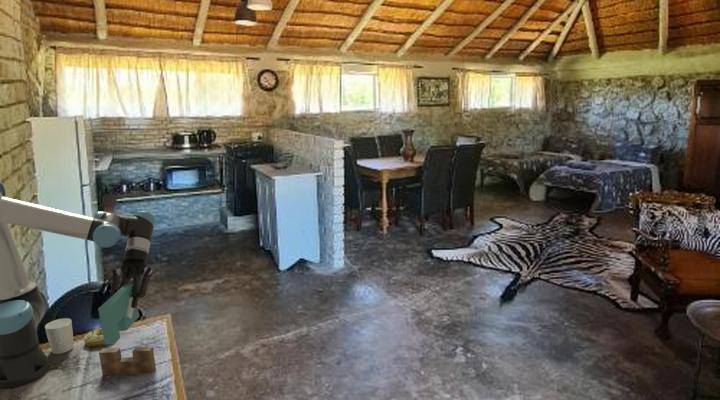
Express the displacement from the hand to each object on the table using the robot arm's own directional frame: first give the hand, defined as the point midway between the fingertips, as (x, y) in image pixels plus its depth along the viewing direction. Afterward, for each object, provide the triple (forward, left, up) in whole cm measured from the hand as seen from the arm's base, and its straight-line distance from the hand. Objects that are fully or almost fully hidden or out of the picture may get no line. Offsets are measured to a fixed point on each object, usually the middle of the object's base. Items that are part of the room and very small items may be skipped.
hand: (122, 317), depth 151 cm
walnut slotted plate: (+5, -1, -17) cm, 18 cm away
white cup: (-26, -17, -17) cm, 35 cm away
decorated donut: (-24, -5, -17) cm, 30 cm away
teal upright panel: (+1, -1, -4) cm, 4 cm away
